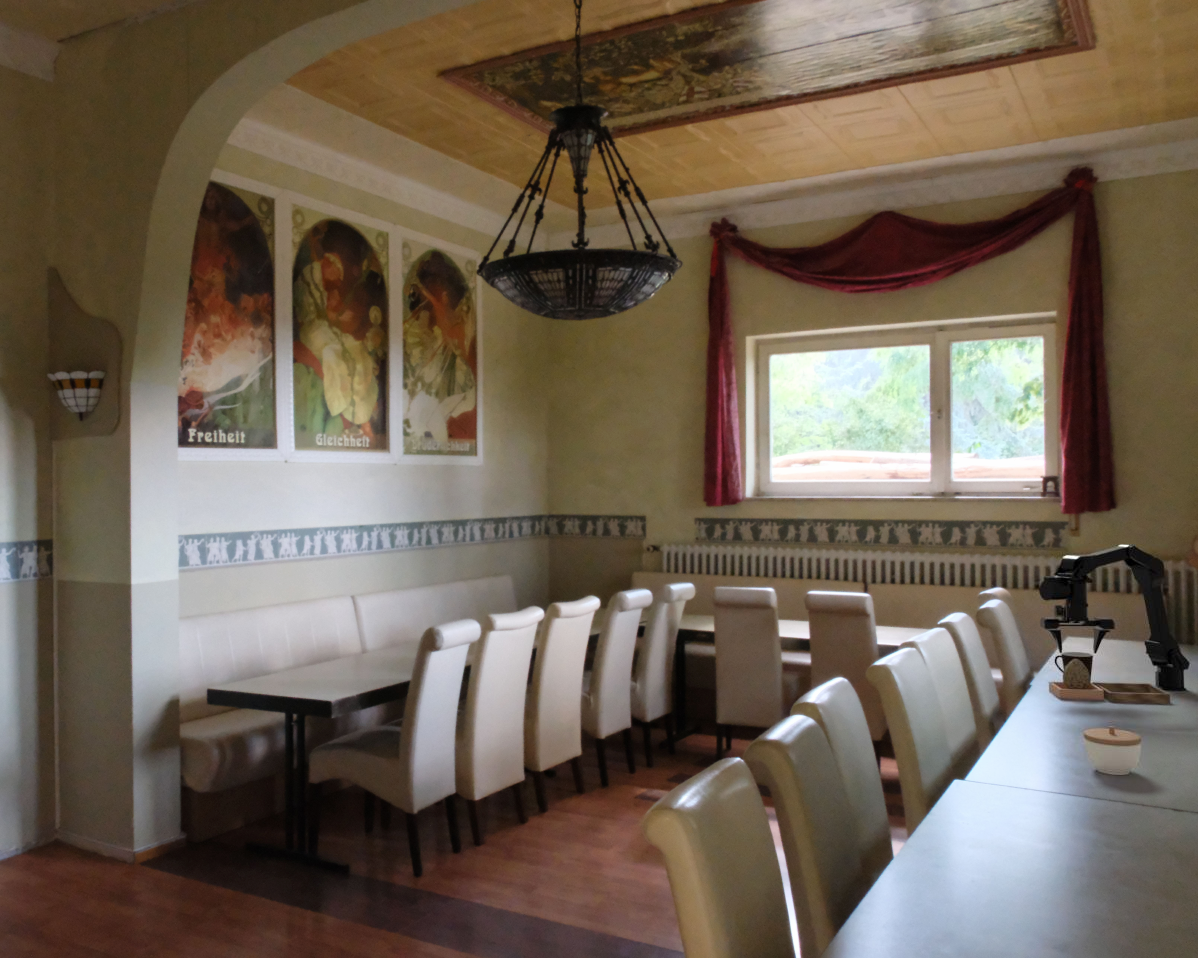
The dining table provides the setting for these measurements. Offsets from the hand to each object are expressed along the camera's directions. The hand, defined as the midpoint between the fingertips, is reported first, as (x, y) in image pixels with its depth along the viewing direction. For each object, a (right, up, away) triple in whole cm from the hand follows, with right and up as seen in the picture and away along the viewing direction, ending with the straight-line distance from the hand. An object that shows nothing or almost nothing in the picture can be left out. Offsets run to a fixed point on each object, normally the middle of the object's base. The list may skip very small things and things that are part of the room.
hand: (1077, 652), depth 281 cm
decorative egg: (0, -12, 0) cm, 12 cm away
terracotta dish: (-1, -12, 0) cm, 12 cm away
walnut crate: (+14, -12, -3) cm, 18 cm away
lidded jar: (-30, -12, -76) cm, 82 cm away
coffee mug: (+6, -13, +13) cm, 19 cm away
